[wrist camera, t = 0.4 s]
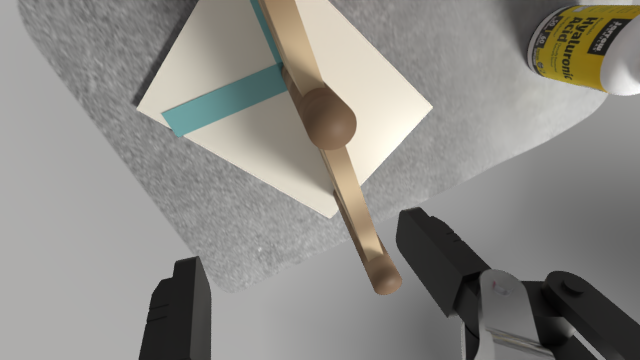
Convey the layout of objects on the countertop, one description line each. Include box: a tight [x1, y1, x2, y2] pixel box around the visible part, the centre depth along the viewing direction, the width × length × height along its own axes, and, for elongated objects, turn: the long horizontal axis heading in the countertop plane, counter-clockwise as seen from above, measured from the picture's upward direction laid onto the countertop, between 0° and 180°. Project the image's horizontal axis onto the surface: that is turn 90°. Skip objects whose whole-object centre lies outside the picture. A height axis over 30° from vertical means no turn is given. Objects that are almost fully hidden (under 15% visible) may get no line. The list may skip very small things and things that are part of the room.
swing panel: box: [318, 146, 402, 295], centre depth 27 cm, size 14×2×14 cm, turn 20°
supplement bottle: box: [528, 5, 640, 96], centre depth 27 cm, size 7×7×13 cm
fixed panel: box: [258, 0, 357, 150], centre depth 19 cm, size 12×3×15 cm, turn 20°
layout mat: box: [137, 0, 433, 219], centre depth 30 cm, size 18×24×1 cm
